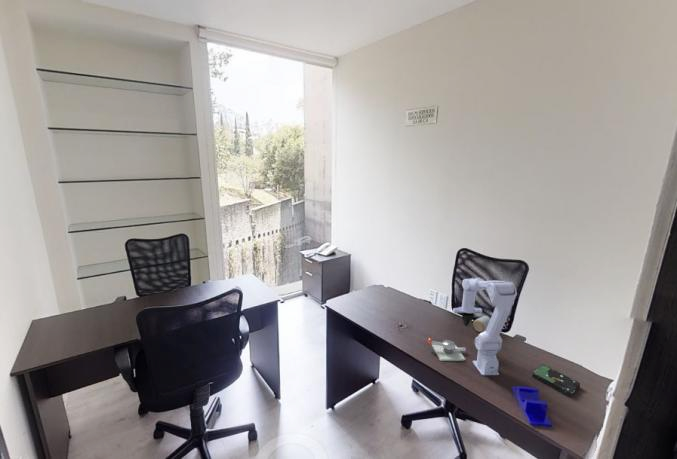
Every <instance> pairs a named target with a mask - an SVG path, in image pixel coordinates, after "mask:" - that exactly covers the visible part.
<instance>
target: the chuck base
mask: <svg viewBox="0 0 677 459" xmlns="http://www.w3.org/2000/svg"><path fill="white" fill-rule="evenodd" d="M431 346H432V348H433V351H434V352H435V353H436V356H437V357H438V359H439V361H440V362H446V361H448V362H449V361H450V362H451V361H452V362H453V361H454V362H457V361H463V362H464V361H466V358H465V356H464V355H463V354H462V352H466V351H467V349H466V347H458V346H457V344H455V350H453V351H448V350H446V349H444V348H443V347H442V346H438V345H431Z"/></svg>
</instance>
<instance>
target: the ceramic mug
mask: <svg viewBox="0 0 677 459" xmlns="http://www.w3.org/2000/svg"><path fill="white" fill-rule="evenodd" d="M490 319H491V317H489V316H487V315H483V316H480V317H478V318H477V319H475V320H474V321H473V323H472V325H473V328H474V329H475V331H477V332H479V333H482V332H484V331H486V328H487V326H488V324H489V321H490Z"/></svg>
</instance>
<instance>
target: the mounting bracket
mask: <svg viewBox="0 0 677 459" xmlns="http://www.w3.org/2000/svg"><path fill="white" fill-rule="evenodd" d="M511 390H512V392H513V395H514V396H515V399H516V400H517V402H518V404H519V406H520V408H521V410H522V412H523V414H524V416H525V418H526V420H527V421H528V424H529V425H530V426H535V427H541V426H543V427H542V428H549V427H552V428H553V424H552V422H551V420H550V418H549V417H548V414H547V411H548V406H549V405H548V402H547V401H541V399H540V394H539V392H540V391H539V388H538V387H529V386H521V385H517V386H513V385H512V386H511Z"/></svg>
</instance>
